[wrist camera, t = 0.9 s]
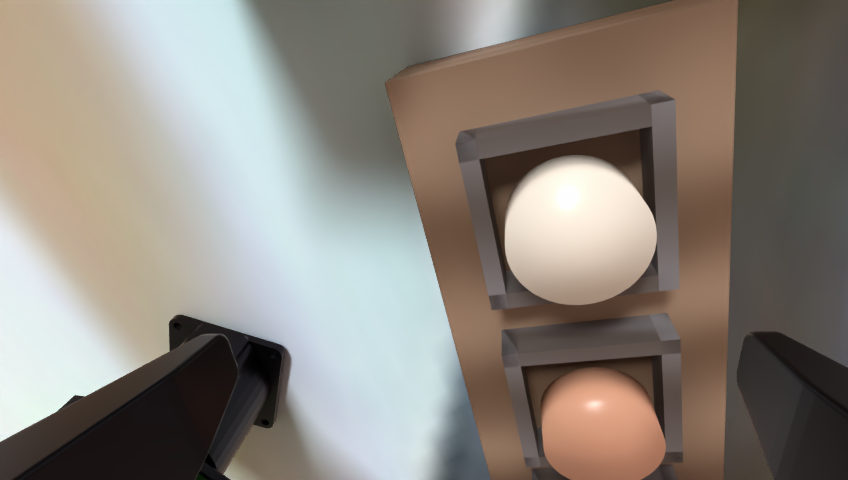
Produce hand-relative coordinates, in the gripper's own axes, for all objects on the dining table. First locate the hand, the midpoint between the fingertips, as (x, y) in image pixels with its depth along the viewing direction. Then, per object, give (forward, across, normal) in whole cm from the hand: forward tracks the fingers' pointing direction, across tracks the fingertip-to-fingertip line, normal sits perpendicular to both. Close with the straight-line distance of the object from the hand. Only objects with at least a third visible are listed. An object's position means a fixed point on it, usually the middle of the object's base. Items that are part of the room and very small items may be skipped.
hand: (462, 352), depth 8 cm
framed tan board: (+13, -4, +9) cm, 16 cm away
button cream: (+7, -3, +1) cm, 8 cm away
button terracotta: (+7, -4, +9) cm, 12 cm away
